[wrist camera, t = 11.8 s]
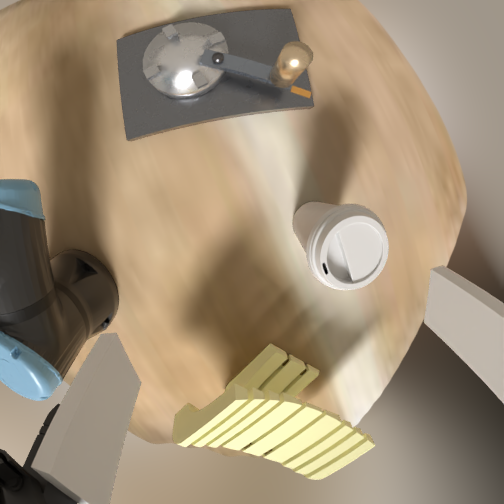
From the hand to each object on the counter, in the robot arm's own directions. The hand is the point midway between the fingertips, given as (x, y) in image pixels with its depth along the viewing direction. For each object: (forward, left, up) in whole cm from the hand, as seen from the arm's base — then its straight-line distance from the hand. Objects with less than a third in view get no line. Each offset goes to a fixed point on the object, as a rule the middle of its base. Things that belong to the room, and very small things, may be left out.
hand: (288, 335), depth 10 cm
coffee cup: (+10, -4, -31) cm, 33 cm away
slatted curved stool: (-1, -34, -31) cm, 46 cm away
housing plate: (-1, +22, -31) cm, 37 cm away
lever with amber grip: (0, +20, -29) cm, 35 cm away
